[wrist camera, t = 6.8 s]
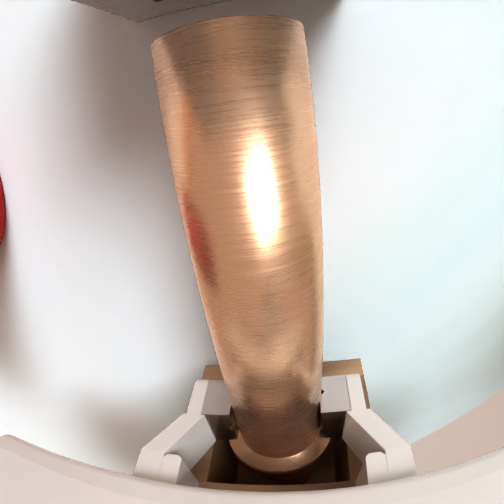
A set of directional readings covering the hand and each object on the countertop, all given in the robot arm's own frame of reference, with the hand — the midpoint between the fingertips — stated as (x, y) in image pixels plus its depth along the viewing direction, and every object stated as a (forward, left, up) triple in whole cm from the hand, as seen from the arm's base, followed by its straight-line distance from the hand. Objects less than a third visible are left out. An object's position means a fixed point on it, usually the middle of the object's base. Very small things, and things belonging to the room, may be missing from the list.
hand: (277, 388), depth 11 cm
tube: (0, -3, -1) cm, 3 cm away
